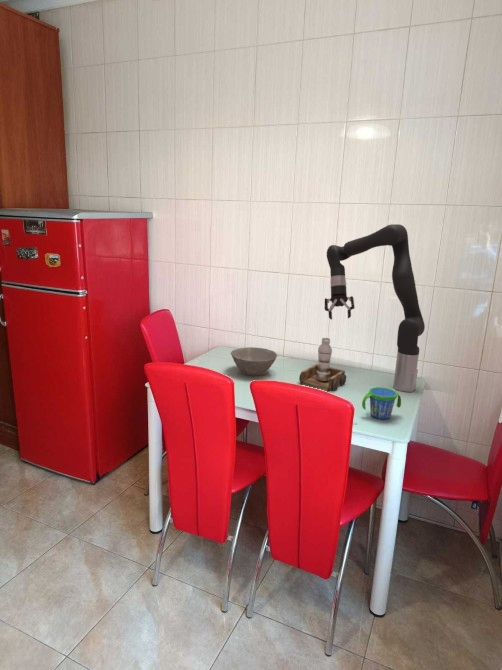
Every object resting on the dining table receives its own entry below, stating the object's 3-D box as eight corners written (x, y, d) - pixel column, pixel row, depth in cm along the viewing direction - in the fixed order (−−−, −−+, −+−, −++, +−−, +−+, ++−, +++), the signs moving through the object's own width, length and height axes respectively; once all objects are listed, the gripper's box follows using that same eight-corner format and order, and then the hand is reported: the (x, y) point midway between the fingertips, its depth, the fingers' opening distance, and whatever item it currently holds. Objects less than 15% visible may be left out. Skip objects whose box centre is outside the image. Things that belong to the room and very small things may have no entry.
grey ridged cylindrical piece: (321, 383, 210) (324, 341, 206) (312, 379, 216) (315, 337, 211) (332, 382, 213) (336, 340, 209) (323, 377, 219) (327, 336, 214)
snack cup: (365, 421, 176) (368, 396, 173) (356, 410, 186) (359, 386, 184) (404, 421, 178) (408, 396, 175) (394, 410, 188) (397, 387, 185)
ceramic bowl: (244, 363, 241) (245, 344, 238) (284, 372, 229) (285, 352, 227) (220, 374, 222) (221, 354, 220) (262, 384, 211) (263, 363, 208)
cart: (327, 395, 201) (329, 382, 199) (293, 386, 210) (294, 373, 208) (346, 383, 217) (347, 371, 215) (313, 375, 226) (314, 363, 225)
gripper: (322, 285, 226) (324, 318, 224) (352, 283, 221) (354, 316, 220) (325, 288, 233) (326, 320, 232) (354, 285, 228) (355, 318, 227)
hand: (340, 318), depth 226 cm, fingers open, 8 cm apart
